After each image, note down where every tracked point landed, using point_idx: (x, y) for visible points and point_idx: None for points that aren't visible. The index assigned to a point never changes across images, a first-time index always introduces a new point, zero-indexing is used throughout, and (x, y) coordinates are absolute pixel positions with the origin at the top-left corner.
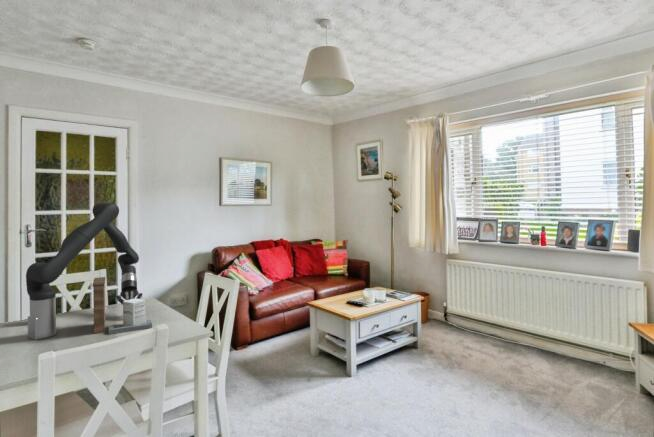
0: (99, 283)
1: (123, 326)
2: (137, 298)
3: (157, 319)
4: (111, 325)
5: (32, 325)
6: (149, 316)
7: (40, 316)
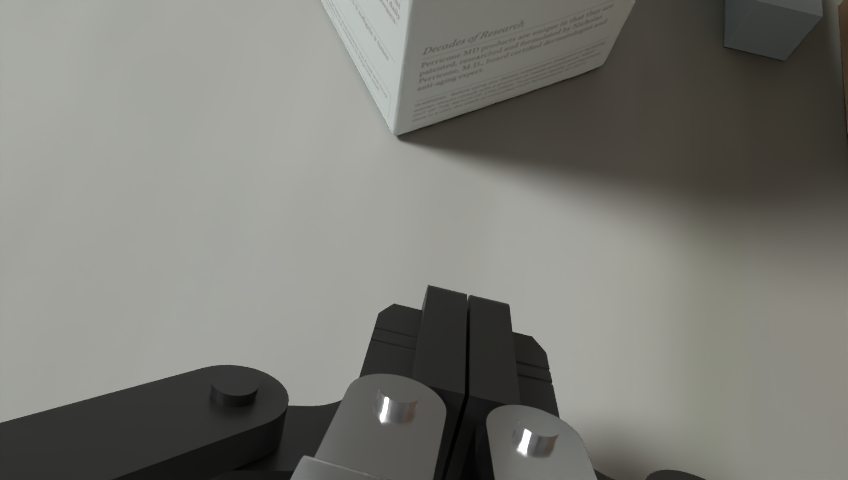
0: None
1: (597, 62)
2: (80, 438)
3: (43, 52)
4: (790, 5)
5: None
6: (39, 327)
7: None
